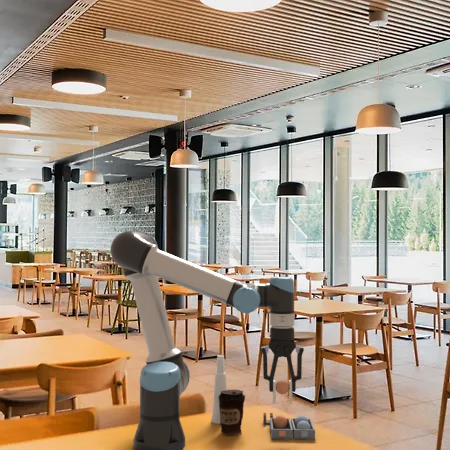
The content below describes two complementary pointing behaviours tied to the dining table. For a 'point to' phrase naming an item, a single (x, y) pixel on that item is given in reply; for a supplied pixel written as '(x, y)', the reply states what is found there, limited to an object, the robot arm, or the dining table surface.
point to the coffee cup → (231, 411)
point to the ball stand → (267, 422)
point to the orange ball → (282, 387)
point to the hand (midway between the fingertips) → (282, 402)
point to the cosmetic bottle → (218, 387)
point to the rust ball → (280, 422)
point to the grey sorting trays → (292, 431)
